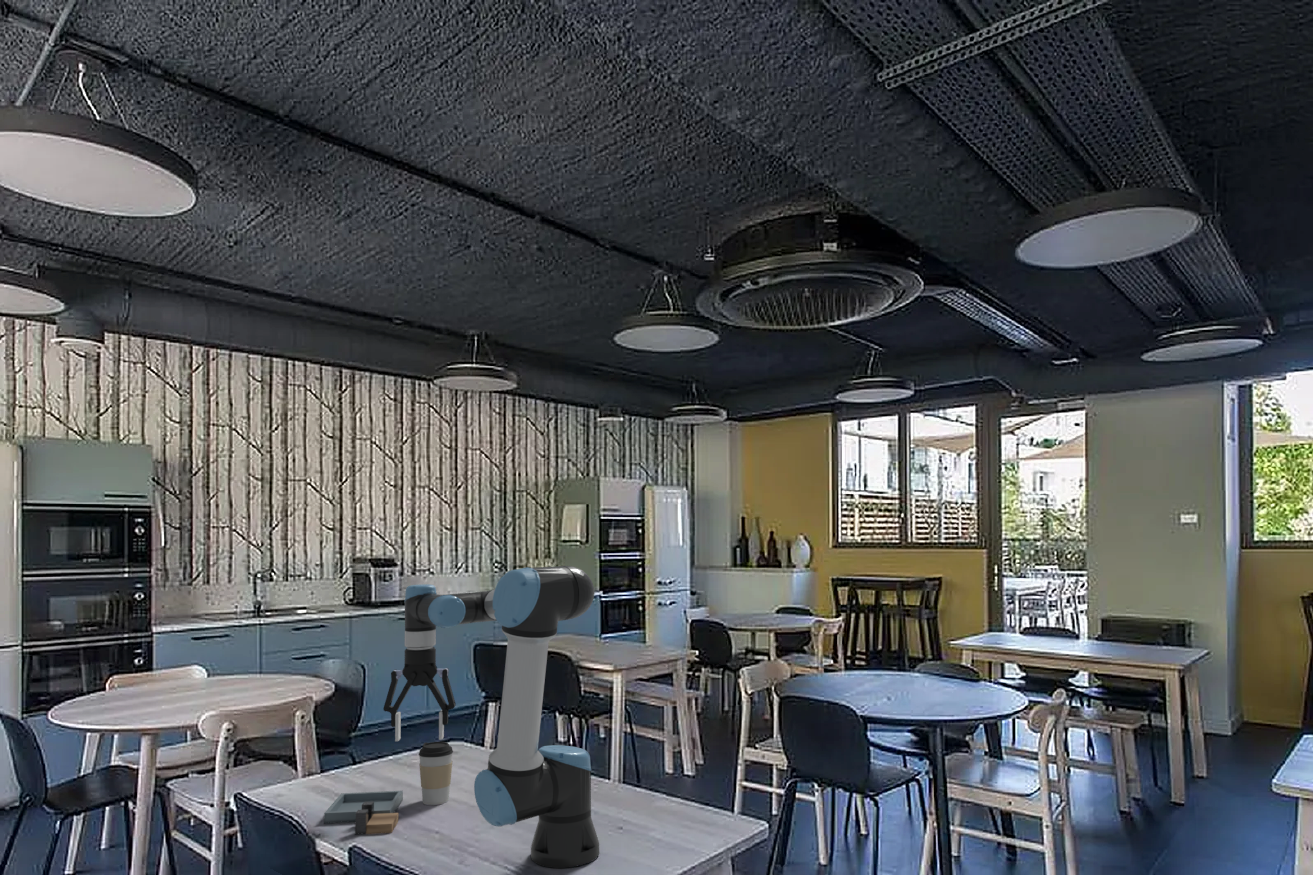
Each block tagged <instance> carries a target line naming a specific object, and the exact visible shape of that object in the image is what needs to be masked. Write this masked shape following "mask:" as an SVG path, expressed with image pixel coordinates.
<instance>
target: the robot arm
mask: <svg viewBox="0 0 1313 875" xmlns="http://www.w3.org/2000/svg"><path fill="white" fill-rule="evenodd" d="M404 594H405V595H404V596H405V597H404V601H403V602H404V647H405V649H404V666H403V669H399V670H398V669H394V670H392V671H391V673H390V679H391V680H390V685H389V688H388V691H387V696H386V699H385V701H384V705H383V709H382V710H383V711H384V712H387V713H389V714H390V718H391V719H390V726H391V728H394V732H395V733H394V738H395V739H394V742H399V741H400V740H401V738H402V737H401V733H402V732H401V730H402V729H401V722H402V721H401V720H402V718H401V716H402V715H401V714H402V712H401V711H398V710H399V709H400V707H401V705H402V703H403V701H404V699H405V698H406V696H407V694H408V692H409V691H410V689H411V687H418V686H422V687H426V686H427V688H428V689H429V690H430V692H431V693H432V695H433V697H434V698H435V701H436V702H437V704H438V705H439V707H440V711H439V712H438V740H443V739H444V737H445V736H444V735H445V731H444V730H445V726H447V725H448V722H449V711H450V710H453V709H454V708H455V707H456V699H455V697H454V694H453V690H452V685H451V682H450V679H449V671H450V670H449V668H448V667H445V668H438V667H437V664H436V661H437V660H436V658H437V657H436V656H437V654H436V652H437V650H436V649H437V648H436V647H434V646H436V645H437V640H436V639H437V636H436V635H437V630H436V629H437V627H440V628H443V629H445V628H454V627H456V626H459V625H466V624H473V623H474V624H475V623H483V622H484V623H485V622H497V623H498V624H499V625H500V626H501V632H502V633H503V634H504V635H505V637H506V638H507V646H506V654H505V665H504V666H505V667H504V673H503V674H504V677H503V686H502V696H501V705H500V714H499V726H498V733H497V743H496V748H495V749H494V750H492V751H491V752H490V753H489V755H488V760H487V762H488V763H487V769H482V770H481V771H479V772H478V773H477V775H476V777H475V780H474V785H473V786H474V787H473V791H474V798H475V801H476V805H477V807H478V810H479V812H480V814H481V815H482V817H483V818H484V820H485V821H486V822H487V823H488V824H490V825H491V826H493V827H504V826H507V825H510V826H511V825H516V823H519V822H522V821H526V820H529V819H532V818H535V817H538V820H537V821H538V822H537V825H536V827H535V828H536V829H535V832H534V835H533V838H532V841H531V845H530V859H531V861H532V862H533V863H534V864H537V865H539V866H543V867H546V868H553V869H554V868H555V869H557V868H558V869H561V868H562V869H565V868H574V867H573V866H575V867H578V866H577V865H580V866H584V865H586V864H585V863H587V864H589V863H591V862H593V861H595V860H596V859H597V858H598V857H599V856H598V855H600V840H599V837H598V835H597V832H596V831H597V830H596V828H595V825H594V822H593V819H592V800H591V799H592V796H591V794H592V791H591V790H592V768H591V756H590V753H589V752H588V751H587V750H586V749H584V748H580V747H576V746H571V745H570V746H569V745H561V744H560V745H559V744H556V745H555V744H554V745H552V744H550V745H544V746H543V745H542V746H541V747H540V748H539V741H540V732H541V721H542V720H541V719H542V709H543V701H544V700H543V699H544V691H545V679H546V674H547V673H546V671H547V662H548V661H547V660H548V651H549V644H550V641H551V640H553V638H555V637H556V636H557V633H558V626H559V622H560V621H561V622H563V621H568V620H572V619H576V618H579V617H581V616H582V615H584V614H585V613H586V612H587V611H588V610H589V608H590V607H591V605H592V604H593V601H594V598H595V586H594V583H593V581H592V579H591V577H590V576H589V575H588V574H587V572H585V571H584V570H583V569H581V568H579V567H577V566H572V565H560V566H540V567H537V566H536V567H523V568H518V569H516V568H515V569H511V570H509V571H507V572H505V573H504V575H503V576H501V578H499V580H498V581H497V583H496V585H495V589H490V590H484V591H475V592H473V591H472V592H461V593H459V592H458V593H449V594H448V593H447V594H437V588H436V586H435V585H434V584H428V583H427V584H423V583H422V584H411V585H407V587H406V588H405V593H404ZM437 674H438V675H439V678H441V680H442V684H443V685H442V686H443V688H444V693H445V697H446V699H447V701H446V700H445V698H444V696H443V695H442V693H441V690H439V687H438V686H437V683H436V681H435V680H434V678H435V677H436V675H437ZM402 675H403V677H404V679H406V682H405V684H404V686H403V688H402V690H401V692H400V694H399V695H398V697H397V699H396V701H395V703H394V704H393V705H392V703H393V700H394V697H395V696H394V695H395V693H396V690H397V685H398V682H399V679H401V677H402ZM447 702H448V704H447ZM597 856H598V857H597ZM596 857H597V858H596ZM595 858H596V859H595ZM594 859H595V860H594ZM590 861H591V862H590ZM588 862H589V863H588ZM583 864H584V865H583Z"/></svg>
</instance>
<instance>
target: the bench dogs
mask: <svg viewBox="0 0 1313 875" xmlns="http://www.w3.org/2000/svg"><path fill="white" fill-rule="evenodd" d="M373 814H374V802H364V803H363V804H362V810H358V811H357V812H356V820H355V822H354V823H355V825H354V826H355V828H354V831H355V834H354V835H356V836H357V835H358V836H359V835H367V834H366V825H367V823H368V822H369V820H370V819H371V817H372V816H373Z"/></svg>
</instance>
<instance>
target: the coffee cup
mask: <svg viewBox="0 0 1313 875" xmlns="http://www.w3.org/2000/svg"><path fill="white" fill-rule="evenodd" d="M453 753H454V750H453V747H452V746H451V745H450V743H449V742H446V741H433V742H428V741H427V742H423V744H422V747H421V748H420V749H419V752H418V756H419V776H420V787H421V797H422V798H421V800H422V804H424V805H426V806H439V805H443V804H446V803H447V802H449V801H450V800H449V799H450V789H451V782H452V781H451V780H452V769H453Z"/></svg>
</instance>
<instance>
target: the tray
mask: <svg viewBox="0 0 1313 875" xmlns="http://www.w3.org/2000/svg"><path fill="white" fill-rule="evenodd" d="M403 798H404V791H403V790H389V791H387V790H386V791H384V790H383V791H363V792H362V791H361V792H342V793H340V795H338V797H337V798H336V799H335V800H334V801H333V802H332V803H331V805H330V806H329V807H328V808H327V809H326V810H325V812H324V813H323V824H326V825H327V824H342V823H344V824H345V823H347V824H348V823H355V820H356V812H357V811H358V810H362V804H363V803H364V802H374V814H383V813H397V811H398V809H399V807H400V805H401V804H402V802H403V800H404V799H403Z"/></svg>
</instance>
